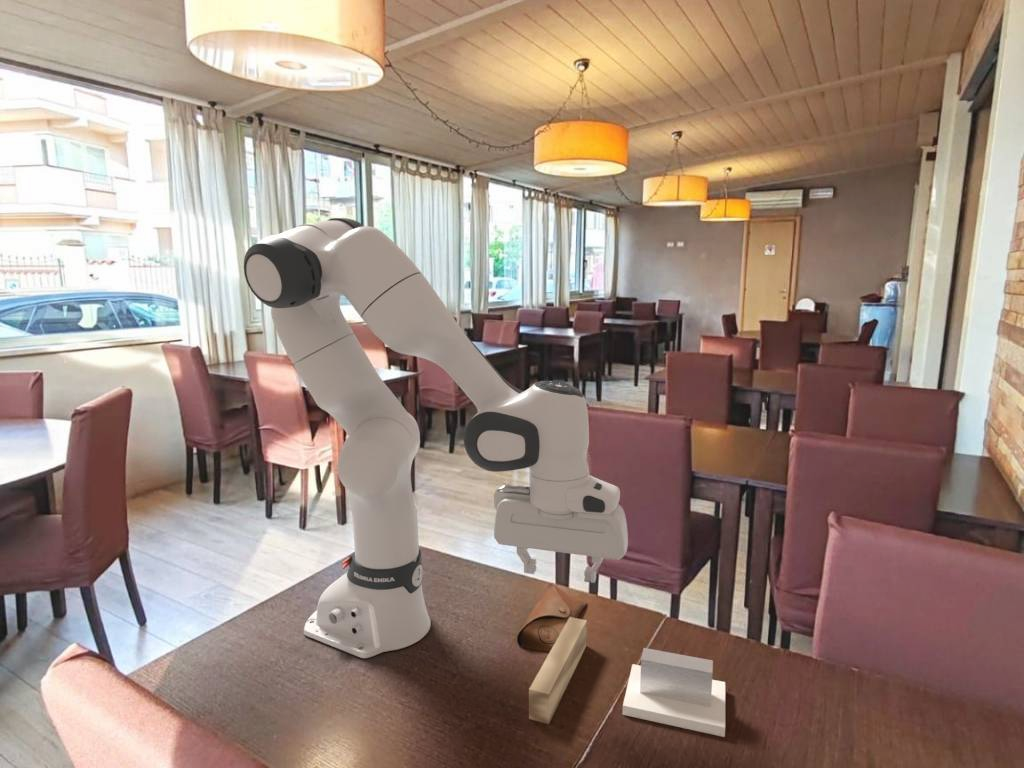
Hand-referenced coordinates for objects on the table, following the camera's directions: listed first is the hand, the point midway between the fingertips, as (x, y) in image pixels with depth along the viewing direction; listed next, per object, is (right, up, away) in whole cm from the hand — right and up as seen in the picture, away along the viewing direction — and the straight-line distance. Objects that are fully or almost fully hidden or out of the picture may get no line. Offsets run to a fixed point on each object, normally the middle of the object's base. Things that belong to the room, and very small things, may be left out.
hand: (559, 576), depth 94 cm
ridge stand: (+17, -18, -2) cm, 25 cm away
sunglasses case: (0, -15, +19) cm, 24 cm away
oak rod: (0, -17, +3) cm, 18 cm away
